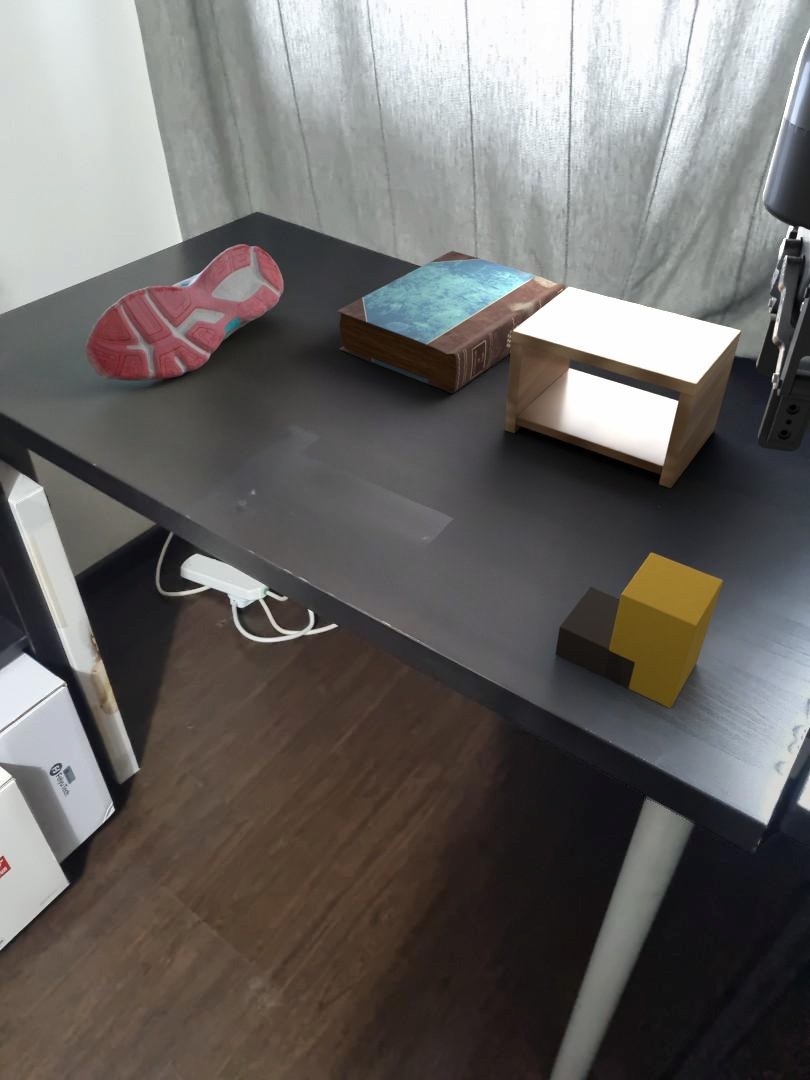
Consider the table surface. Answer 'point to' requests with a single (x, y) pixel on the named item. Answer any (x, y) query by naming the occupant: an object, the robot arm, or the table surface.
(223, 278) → the athletic shoe
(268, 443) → the table surface
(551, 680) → the table surface
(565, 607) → the table surface
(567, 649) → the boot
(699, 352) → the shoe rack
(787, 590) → the table surface
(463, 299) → the book
